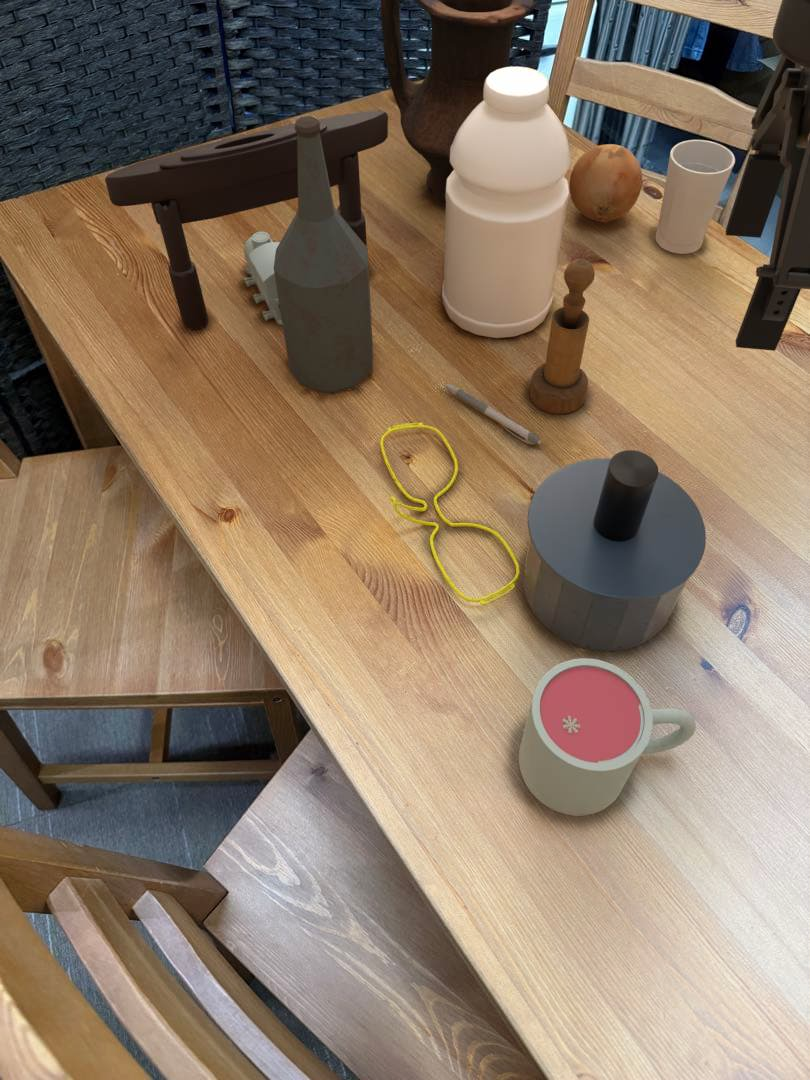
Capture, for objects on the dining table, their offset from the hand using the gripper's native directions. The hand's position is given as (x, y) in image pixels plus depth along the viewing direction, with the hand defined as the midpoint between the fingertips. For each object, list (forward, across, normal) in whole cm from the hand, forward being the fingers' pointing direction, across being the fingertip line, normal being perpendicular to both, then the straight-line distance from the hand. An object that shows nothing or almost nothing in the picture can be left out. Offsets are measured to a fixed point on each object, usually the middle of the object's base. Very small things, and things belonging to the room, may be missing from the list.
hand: (748, 286), depth 65 cm
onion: (+29, -53, -8) cm, 61 cm away
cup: (+29, -49, +2) cm, 57 cm away
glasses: (+29, +3, -24) cm, 37 cm away
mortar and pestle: (+29, -16, -12) cm, 35 cm away
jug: (+29, -58, -29) cm, 71 cm away
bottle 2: (+29, -32, -21) cm, 48 cm away
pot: (+29, +10, -7) cm, 31 cm away
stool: (+28, -30, -50) cm, 64 cm away
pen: (+29, -11, -19) cm, 37 cm away
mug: (+29, +28, -6) cm, 41 cm away
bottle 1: (+28, -17, -39) cm, 51 cm away
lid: (+19, +10, -7) cm, 23 cm away
